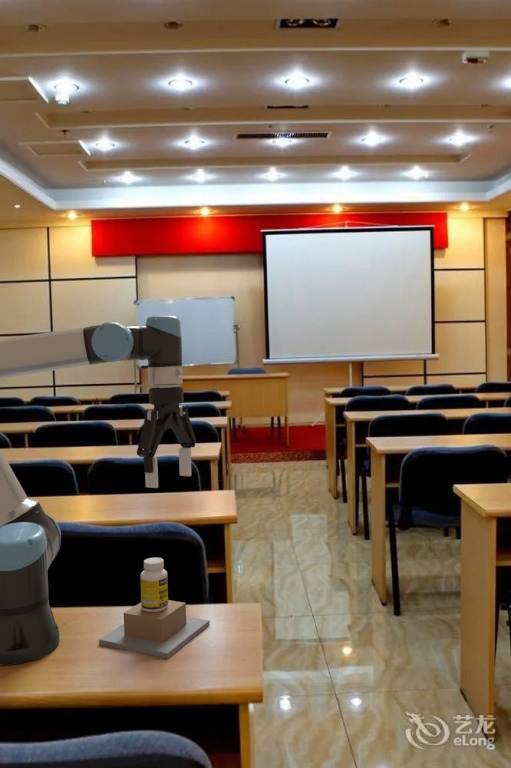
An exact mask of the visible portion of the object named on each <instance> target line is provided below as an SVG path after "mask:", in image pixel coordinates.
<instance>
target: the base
mask: <svg viewBox="0 0 511 768" xmlns="http://www.w3.org/2000/svg"><path fill="white" fill-rule="evenodd" d="M186 603H187V602H182V601H176V600H170V599H168V607H167V608H166V609H165V610H163V611H160V612H146V611H143V610H142V608H141V602H138V604H136V605H134V606H133V607H131V608H129V609H128V610H126V611H125V612H123V623H122V624H121V625H120V626H118V627H116V628H115V629H114V630H113V629H112V631H109V632H108V633H107V634H105V635H104V636H102V637H100V638H99V640H98V644H99V645H101V646H106V647H109V648H110V647H111V648H115V649H119V650H120V649H121V650H123V651H124V650H125V651H129V652H133V653H134V652H135V653H140V654H144V655H148V656H149V655H150V656H154V657H158V658H162V659H163V658H164V659H166V660H167V659H169V658H170V657H172V656H173V655H174V654H175V653H176V652H178V651H179V650H180V649H182V648H183V647H184V646H185V645H186V644H188V643H189V642H190V641H191V640H193V639H194V638H195V637H196V636H198V635H199V634H200V633H202V632H203V631H204V630H205V629H207V628H208V627H209V626H210V623H211V621H210V619H205V618H198V617H194V616H188V615H187V604H186Z"/></svg>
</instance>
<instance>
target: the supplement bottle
mask: <svg viewBox="0 0 511 768" xmlns="http://www.w3.org/2000/svg"><path fill="white" fill-rule="evenodd" d="M164 565H165V563H164V559H163V558H162V557H149V558H146V559H144V560H143V569H144V570H143V571H142V572H141V573H140V603H141V608H142V610H143V611H146V612H160V611H163V610H165V609H166V608H167V607H168V600H169V595H168V594H169V591H168V590H169V589H168V571H167V570H166V569H164Z"/></svg>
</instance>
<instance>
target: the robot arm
mask: <svg viewBox="0 0 511 768" xmlns="http://www.w3.org/2000/svg"><path fill="white" fill-rule="evenodd" d="M182 337H183V335H182V328H181V321H180V319H179V317H177V316H175V315H157V316H155V315H154V316H152V315H151V316H148V317H147V318H146V322H145V325H138V326H137V325H136V326H135V325H131V326H130V325H129V326H127V325H126V326H125V325H124V324H123V323H121V322H117V321H108V322H104V323H101V324H97V325H91V326H87V327H85V326H84V327H76V328H70V329H64V330H56V331H49V332H48V331H47V332H42V333H41V332H40V333H36V334H27V335H22V336H15V337H7V338H2V339H0V380H2V379H8V378H13V377H21V376H27V375H33V374H39V373H46V372H51V371H53V372H54V371H60V370H65V369H71V368H77V367H84V366H90V365H98V364H104V363H110V362H111V363H115V362H119V361H120V362H123V361H125V362H126V361H145V360H146V361H147V363H148V364H147V375H148V378H147V379H148V381H147V382H148V385H149V386H151V387H149V389H148V397H149V399H148V400H149V401H148V402H149V404H150V405H153V410H147V409H146V410H144V420H143V425H142V429H141V432H140V438H139V441H138V444H137V449H136V455H137V456H138V457H139V458H143V464H144V465H143V466H144V467H143V468H144V475H145V476H144V477H145V481H144V482H145V488H152V489H158V488H159V473H158V471H159V470H158V457H157V456H156V452H157V450H158V447H159V445H160V443H161V440H162V438H163V435H164V433H165V432H166V431H167V430H168V429H171V430H172V432H173V434H174V435H175V438H176V440H177V442H178V443H179V444H180V447H179V448H178V461H179V462H178V463H179V476H181V477H182V476H183V477H192V456H191V455H192V453H191V452H192V450H191V448H195V447H196V443H197V438H196V435H195V432H194V428H193V426H192V422H191V420H190V417H189V410H188V409H189V408H188V406H187V405H180V404H183V403H184V388H183V387H182V386H181V385H183V382H184V381H183V373H184V372H183V353H182V352H183V351H182V350H183V346H182V345H183V344H182V343H183V342H182ZM61 533H62V532H61V528H60V526H59V524H58V523H57V521H56V520H55V519H54V517H52V516H51V515H50V514H47V513H46V512H45V511H44V509H43V506H42V505H41V503H40V501H38V500H37V499H32V498H30V497H28V496H27V494H26V492H25V490H24V489H23V487H22V485H21V484H20V481H19V479H18V478H17V476H16V475H15V473H14V471H13V469H12V468H11V465H10V464H9V462H8V460H7V458H6V457H5V455H4V454H3V451H2V450H1V449H0V666H11V665H18V664H22V663H23V664H24V663H27V662H31V661H34V660H37V659H40V658H42V657H44V656H46V655H48V654H50V653H51V652H53V651H54V650H55V649H56V648H57V647H58V646H59V644H60V642H61V639H60V629H59V626H58V624H57V622H56V620H55V617H54V614H53V611H52V608H51V606H50V602H49V581H48V579H49V578H48V569H50V566H51V564H52V562H53V561H54V560H55V558H56V557H57V555H58V553H59V551H60V549H61V548H60V547H61V545H62V544H61V542H62V541H61V540H62V534H61Z"/></svg>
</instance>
